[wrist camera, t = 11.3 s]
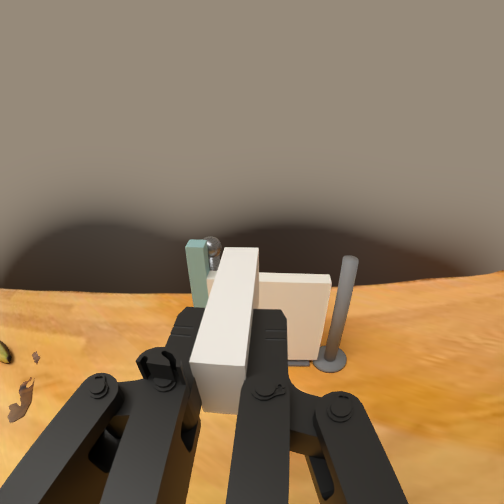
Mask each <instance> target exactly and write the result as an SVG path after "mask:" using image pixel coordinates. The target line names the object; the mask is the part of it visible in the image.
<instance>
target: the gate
mask: <svg viewBox="0 0 504 504" xmlns="http://www.w3.org/2000/svg"><path fill="white" fill-rule="evenodd" d="M185 249H186V257H187V264H188V271H189V278H190V285H191V292H192V298H193V304H194V307H199V308H206V305H207V302H208V299H209V295H210V292H211V289H212V286H213V283H214V280H215V276H216V273H217V271H210V269H209V259H208V248H207V240H189V242H188V243H187V245H186V247H185ZM358 262H359V261H358V259H357V258H356V257H354V256H344V257H343V262H342V267H341V274H340V279H339V285H338V290H337V296H336V301H335V306H334V311H333V316H332V321H331V326H330V330H329V335H328V339H327V344H326V348H325V353H324V359H325V360H326V361H329V362H332V361H334V360H335V359H336V356H337V352H338V349H339V345H340V341H341V337H342V334H343V330H344V326H345V322H346V318H347V313H348V309H349V305H350V300H351V296H352V291H353V287H354V282H355V277H356V272H357V267H358ZM330 290H331V279H330V275H323V274H287V273H259V306H258V309H281V310H282V312H283V313H284V315H285V317H286V318H287V342H288V360H317V357H318V353H319V348H320V343H321V338H322V334H323V329H324V323H325V318H326V313H327V307H328V302H329V296H330Z"/></svg>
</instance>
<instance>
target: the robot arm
mask: <svg viewBox="0 0 504 504" xmlns="http://www.w3.org/2000/svg"><path fill="white" fill-rule="evenodd" d="M258 250H259V248H228V247H225V249H224V252H223V255H222V258H221V261H220V264H219V267H218V270H217V273H216V276H215V280H214V283H213V286H212V289H211V292H210V295H209V299H208V302H207V305H206V308H199V307H186V308H185V309H184V310H183V311H182V312H181V313H180V314H179V315H178V316H177V319H176V321H175V324H174V327H173V329H172V331H171V335H170V336H169V339H168V341H167V344H166V346H165V347H155V348H152V349H149V350H146V351H145V352H143V353H142V354H140V356H139V357H138V358H137V360H136V363H137V365H138V368H139V370H140V372H141V374H142V376H143V379H140V380H136V381H127V382H117V381H116V379H115V378H114V377H113V376H111V375H110V374H106V373H97V374H94V375H92V376H90V377H88V378H87V379H86V380H85V381H84V382H83V383H82V384H81V385H80V387H79V388H78V389H77V390H76V391H75V393H74V394H73V395H72V396H71V398H70V399H69V400H68V401H67V402H66V404H65V405H64V406H63V407H62V408H61V410H60V411H59V412H58V413H57V415H56V416H55V417H54V418H53V420H52V421H51V422H50V423H49V425H48V426H47V427H46V428H45V430H44V431H43V432H42V434H41V435H40V436H39V437H38V439H37V440H36V441H35V443H34V444H33V445H32V446H31V448H30V449H29V450H28V452H27V453H26V454H25V456H24V457H23V458H22V460H21V461H20V462H19V464H18V465H17V466H16V468H15V469H14V470H13V472H12V473H11V474H10V476H9V477H8V479H7V480H6V481H5V483H4V484H3V485H2V487H1V488H0V504H185V503H186V498H187V493H188V488H189V482H190V477H191V472H192V467H193V462H194V457H195V452H196V447H197V442H198V437H199V433H200V428H201V420H200V417H199V414H200V409H201V405H202V408H203V411H204V412H212V413H223V414H235V415H237V423H236V430H235V438H234V445H233V453H232V460H231V468H230V475H229V483H228V490H227V498H226V504H288V496H289V452H290V451H292V452H296V453H300V454H303V455H305V457H306V461H307V464H308V467H309V470H310V473H311V476H312V480H313V483H314V486H315V489H316V492H317V495H318V499H319V502H320V504H408V502H407V499H406V497H405V495H404V493H403V490H402V488H401V486H400V484H399V481H398V479H397V477H396V475H395V472H394V470H393V468H392V466H391V464H390V461H389V459H388V457H387V455H386V453H385V451H384V449H383V446H382V444H381V442H380V440H379V438H378V436H377V434H376V432H375V429H374V427H373V425H372V423H371V421H370V419H369V417H368V415H367V413H366V411H365V409H364V407H363V405H362V403H361V402H360V401H359V399H358V398H357V397H355V396H354V395H352V394H350V393H347V392H342V391H338V392H331V393H329V394H326V395H324V396H323V397H318V396H314V395H310V394H307V393H304V392H302V391H300V390H299V389H297V388H296V387H295V386H294V385H293V384H292V383H291V381H290V379H289V375H288V342H287V318H286V317H285V315H284V313H283V312H282V310H281V309H258V306H259V251H258Z"/></svg>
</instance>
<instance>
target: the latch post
mask: <svg viewBox="0 0 504 504" xmlns="http://www.w3.org/2000/svg"><path fill="white" fill-rule="evenodd" d="M203 240H207V248H208V259H209V269H210V271H217V270H218V267H219V264H220V257H219V254H220V251H221V243H220V241H219V240H218V239H217V238H215V237H210V236H209V237H206V238H204V239H203Z"/></svg>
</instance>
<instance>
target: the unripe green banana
mask: <svg viewBox="0 0 504 504" xmlns="http://www.w3.org/2000/svg"><path fill="white" fill-rule="evenodd" d="M36 353H37V351H36V352H35V353H33V354H32V356H33V359H34V360H35V361H34V362H35V363H36V364H37V363H38V361H39V359H40V356H38V354H36ZM0 361H1V362H3V363H10V361H11V355H10V352H9V349H8V347H7V346H6V345H5V344H4V343H3V342H1V341H0ZM31 379H32V378H31V377H30V380H31ZM34 379H35V378H34ZM30 380H29V381H30ZM29 381H25V382H23V384H22V385H20V389H19V394H20V396H21V398H20V400H21V406H19V405H18V404H17V403H15V404H12V405H10V406H9V409H10V410H11V411H10V413H9V415H8V419H9V422H14V421H16V420H18V419H19V418H21V417H22V416H24V414H25V412H26V410H27V408H28V406H29V404H30V402H31V397H32V390H33V385H32V386H30V387H29V388H26V384H27V383H28V382H29ZM33 384H34V382H33Z"/></svg>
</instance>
